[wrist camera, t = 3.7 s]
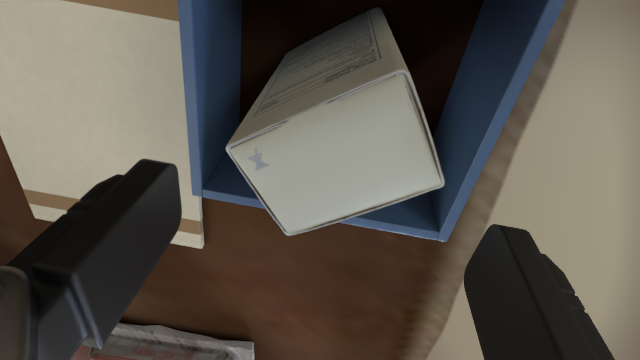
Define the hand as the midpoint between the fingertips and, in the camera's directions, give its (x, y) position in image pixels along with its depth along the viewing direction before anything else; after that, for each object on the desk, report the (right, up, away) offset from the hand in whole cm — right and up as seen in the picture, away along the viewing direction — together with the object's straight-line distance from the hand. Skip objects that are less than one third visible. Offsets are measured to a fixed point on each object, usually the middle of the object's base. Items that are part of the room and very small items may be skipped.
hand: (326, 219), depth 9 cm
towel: (-16, +6, +16) cm, 24 cm away
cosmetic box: (+1, +8, +12) cm, 15 cm away
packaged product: (-17, -19, +33) cm, 42 cm away
